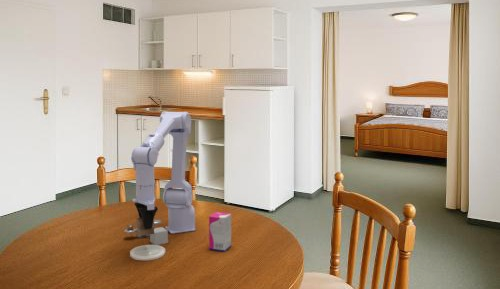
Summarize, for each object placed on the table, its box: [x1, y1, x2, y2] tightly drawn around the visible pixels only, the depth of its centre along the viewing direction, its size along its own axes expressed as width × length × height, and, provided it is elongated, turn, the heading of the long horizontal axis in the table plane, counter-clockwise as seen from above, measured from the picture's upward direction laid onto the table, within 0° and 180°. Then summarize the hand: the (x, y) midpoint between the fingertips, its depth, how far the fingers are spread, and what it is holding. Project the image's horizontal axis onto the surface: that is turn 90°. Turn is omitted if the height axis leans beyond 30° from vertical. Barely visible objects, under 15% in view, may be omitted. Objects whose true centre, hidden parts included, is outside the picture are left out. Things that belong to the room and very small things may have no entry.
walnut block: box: [135, 217, 155, 236], centre depth 144 cm, size 4×4×4 cm
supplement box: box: [208, 211, 232, 253], centre depth 150 cm, size 6×6×12 cm
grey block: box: [149, 226, 169, 246], centre depth 155 cm, size 4×4×4 cm
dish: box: [129, 244, 166, 262], centre depth 145 cm, size 11×11×1 cm
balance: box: [124, 219, 162, 240], centre depth 161 cm, size 13×4×5 cm, turn 116°
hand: (146, 226), depth 144 cm, fingers closed on walnut block, 4 cm apart
